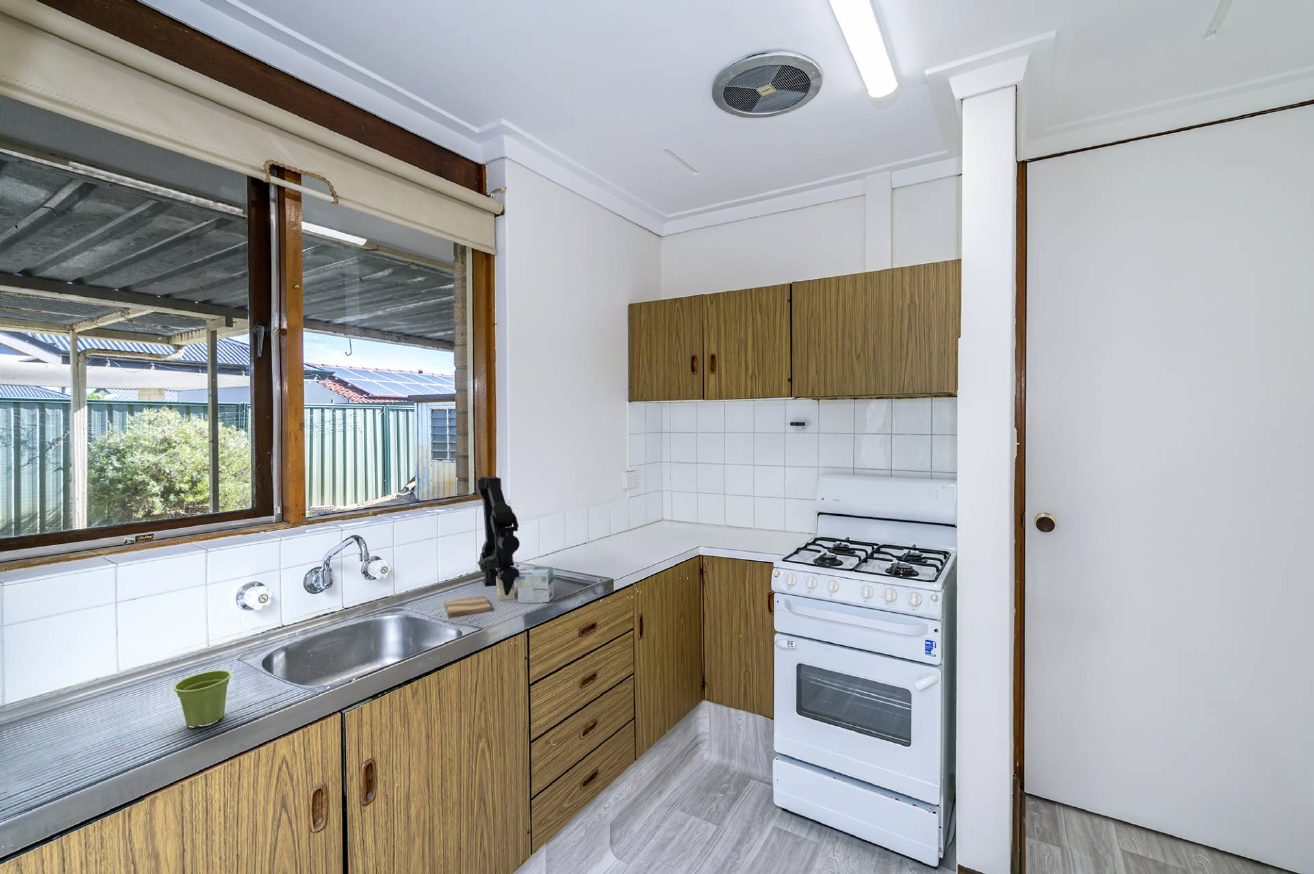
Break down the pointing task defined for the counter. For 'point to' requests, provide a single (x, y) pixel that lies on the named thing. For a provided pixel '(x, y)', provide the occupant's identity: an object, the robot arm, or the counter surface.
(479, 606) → the tan wooden panel
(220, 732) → the counter surface
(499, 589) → the beech block
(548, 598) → the light bulb box
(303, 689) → the counter surface
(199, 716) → the plant pot
